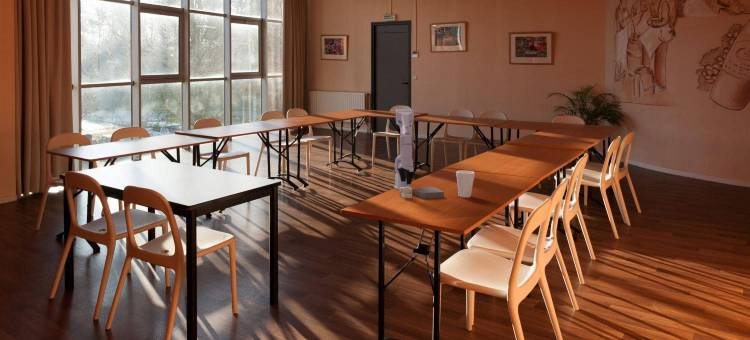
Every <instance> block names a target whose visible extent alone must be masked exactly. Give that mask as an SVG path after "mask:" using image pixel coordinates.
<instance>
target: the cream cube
mask: <svg viewBox="0 0 750 340" xmlns="http://www.w3.org/2000/svg"><path fill="white" fill-rule="evenodd" d="M410 187H411V186H410ZM410 187H400V190H399V198H401V199H412V198H413V189H412V188H413V187H411V188H410Z"/></svg>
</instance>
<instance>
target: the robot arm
mask: <svg viewBox="0 0 750 340" xmlns="http://www.w3.org/2000/svg"><path fill="white" fill-rule="evenodd" d="M414 119H415V110H414V109H413V108H412V109H406V108H405V109H403V108H402V109H401V108H400V109H399V108H396V109H395V123H396V125H398V127H399V129H400V131H399V132H400V136H399V143H400V144H399V145H400V146H399V148H400V149H399V153H400V154H399V155H398V156H397V157H395V158H394V159H395V160H394V161H395V162H394V171H395V172H396V173H395V175H394V185H393V187H394V188H395V189H397V190H399V191H400V187H410V188H412V190H414V188H413V187H411V185H412V183H413V182H412V181H413V178H414V176H415V174H416V171H414V169H415V168H414V162H413V145H414V133H413V131H412V130H413V129H412V126H411V125H413V123H414Z"/></svg>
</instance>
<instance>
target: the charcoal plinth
mask: <svg viewBox="0 0 750 340" xmlns="http://www.w3.org/2000/svg"><path fill="white" fill-rule="evenodd" d="M413 195H415V196H417V197H418V198H420V199H423V200H424V199H425V200H426V199H439V198H440V199H441V198H445V196H444V195H445V191H443V190H441V189H439V188H437V187H434V186H433V187H432V186H431V187H417V188H413Z"/></svg>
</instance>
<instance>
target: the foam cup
mask: <svg viewBox="0 0 750 340" xmlns="http://www.w3.org/2000/svg"><path fill="white" fill-rule="evenodd" d="M455 176H456V183H457V193H458V197H459V196H460V198H471V197H472V196H471V195H472V191H473V186H474V180H475V176H476V175H475V171H473V170H463V169H462V170H456V174H455Z"/></svg>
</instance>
